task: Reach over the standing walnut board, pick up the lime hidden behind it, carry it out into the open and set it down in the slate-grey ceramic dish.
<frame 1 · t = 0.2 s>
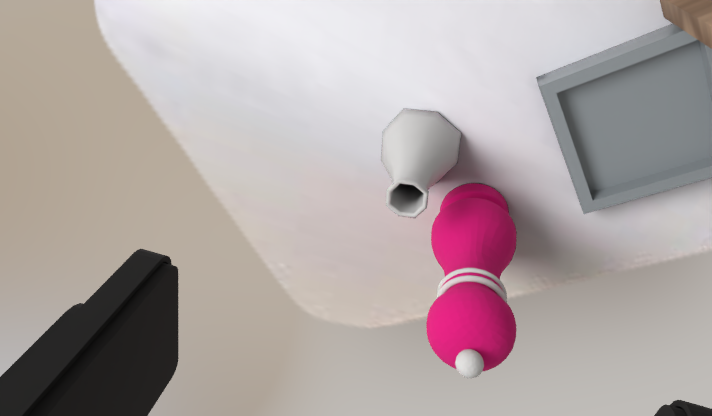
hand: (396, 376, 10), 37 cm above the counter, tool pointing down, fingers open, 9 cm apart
slate dish: (635, 115, 43), on the counter
flask: (420, 145, 48), on the counter
pepper mill: (473, 211, 50), on the counter
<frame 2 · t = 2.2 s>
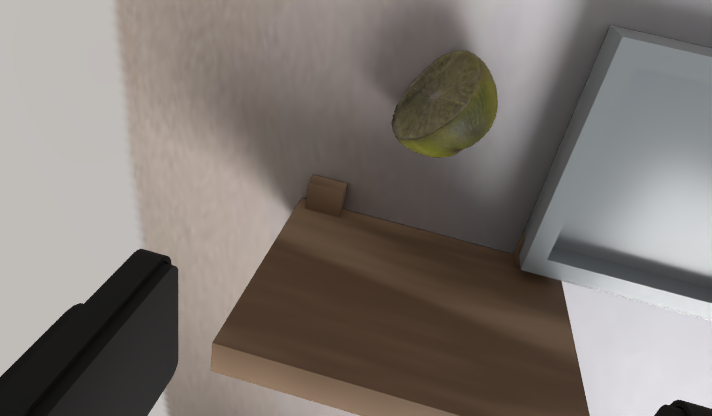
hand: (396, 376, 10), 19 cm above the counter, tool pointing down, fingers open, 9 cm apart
lime: (448, 88, 26), on the counter
slate dish: (681, 178, 26), on the counter
walnut board: (423, 242, 31), on the counter
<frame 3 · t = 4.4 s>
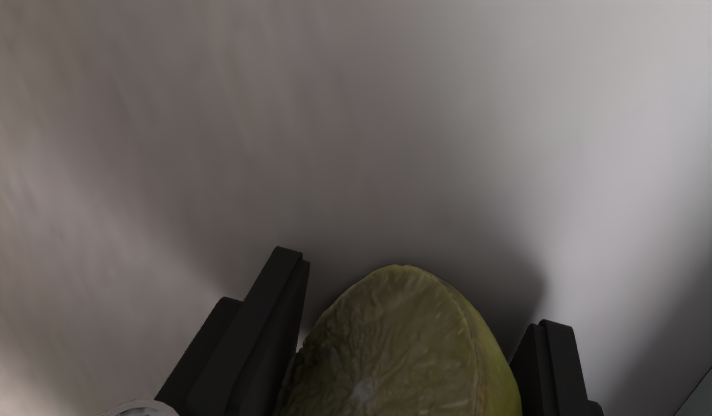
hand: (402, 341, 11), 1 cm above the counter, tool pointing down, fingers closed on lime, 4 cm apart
lime: (408, 315, 12), on the counter, touching gripper
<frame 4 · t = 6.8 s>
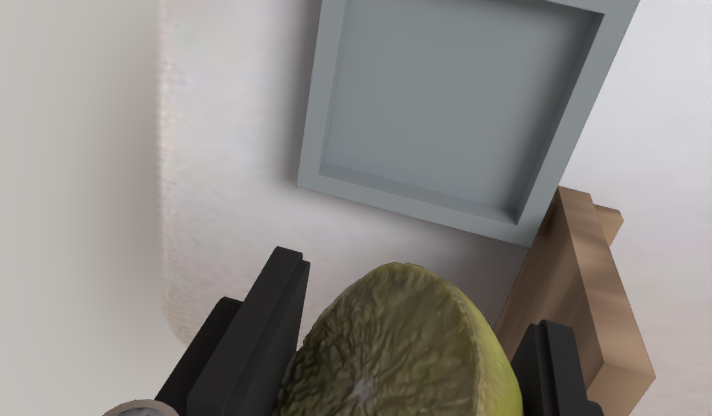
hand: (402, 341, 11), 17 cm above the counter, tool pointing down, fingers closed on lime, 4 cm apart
lime: (408, 314, 12), point 16 cm above the counter, touching gripper
slate dish: (445, 87, 25), on the counter
walnut board: (522, 300, 31), on the counter
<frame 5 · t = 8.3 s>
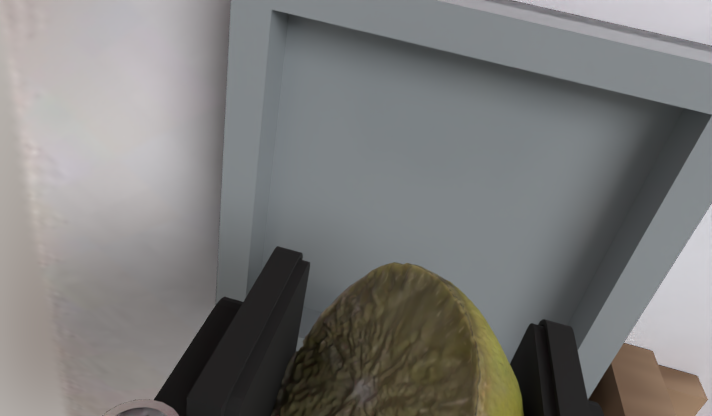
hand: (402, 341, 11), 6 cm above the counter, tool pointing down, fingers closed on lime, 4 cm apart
lime: (408, 314, 12), point 6 cm above the counter, touching gripper
slate dish: (435, 197, 17), on the counter
when the fingers open (3 cm above the counter, at t = 9.3 s): lime drops 1 cm, resting on slate dish.
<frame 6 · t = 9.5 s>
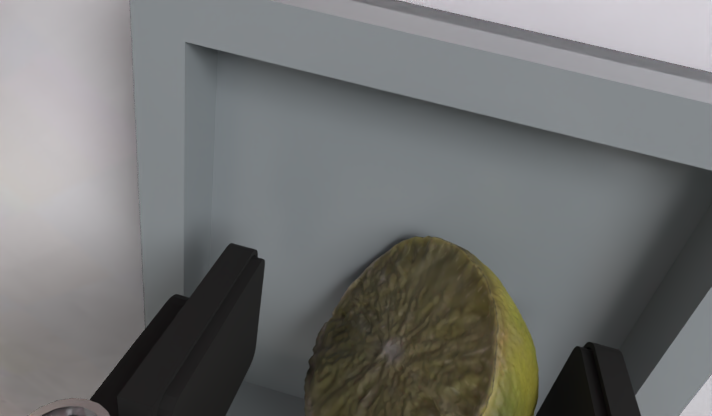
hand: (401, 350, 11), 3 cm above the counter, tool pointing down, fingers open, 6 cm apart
lime: (428, 286, 13), point 1 cm above the counter, touching slate dish
slate dish: (414, 262, 13), on the counter
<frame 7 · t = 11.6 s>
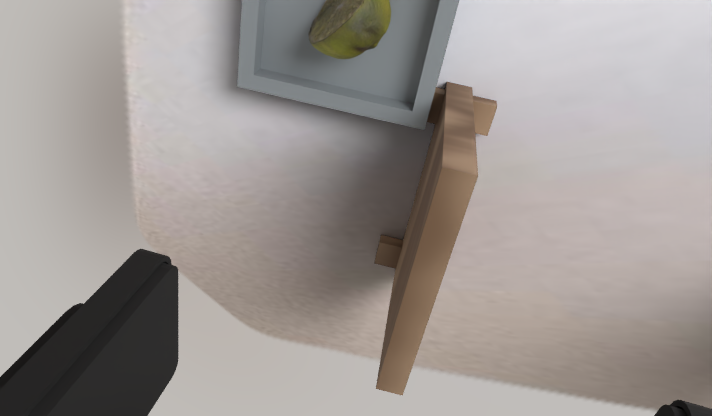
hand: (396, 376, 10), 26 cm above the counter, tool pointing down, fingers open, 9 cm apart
lime: (357, 5, 31), point 1 cm above the counter, touching slate dish
slate dish: (352, 1, 32), on the counter
walnut board: (429, 186, 37), on the counter
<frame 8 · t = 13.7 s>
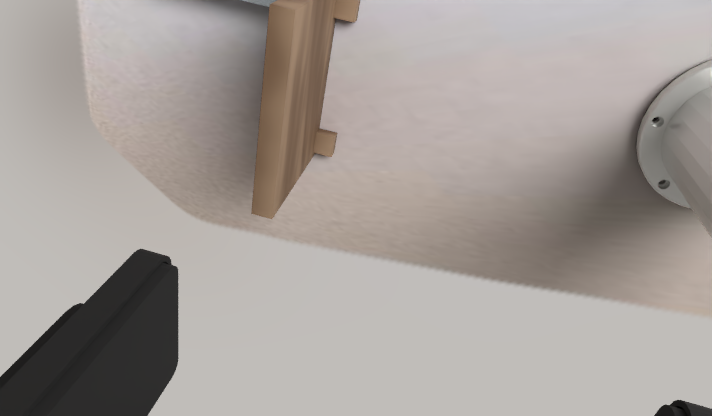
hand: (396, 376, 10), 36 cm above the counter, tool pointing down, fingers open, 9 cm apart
walnut board: (318, 72, 46), on the counter
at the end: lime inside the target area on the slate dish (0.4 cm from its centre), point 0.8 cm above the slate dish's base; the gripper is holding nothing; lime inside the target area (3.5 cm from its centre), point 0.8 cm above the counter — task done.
